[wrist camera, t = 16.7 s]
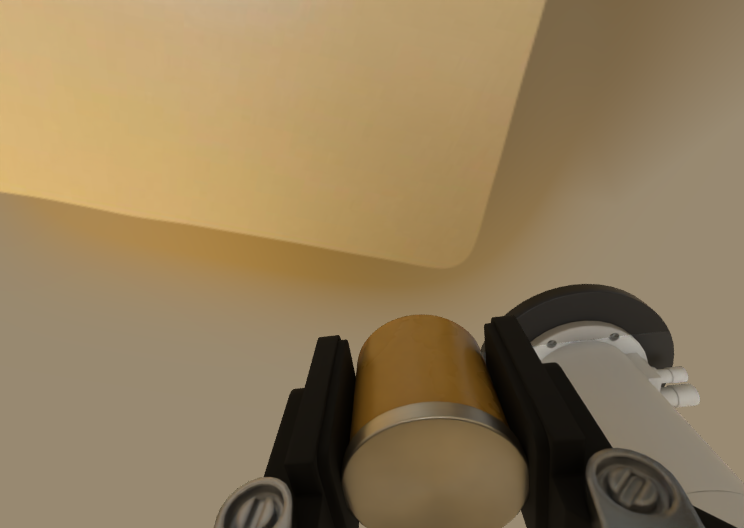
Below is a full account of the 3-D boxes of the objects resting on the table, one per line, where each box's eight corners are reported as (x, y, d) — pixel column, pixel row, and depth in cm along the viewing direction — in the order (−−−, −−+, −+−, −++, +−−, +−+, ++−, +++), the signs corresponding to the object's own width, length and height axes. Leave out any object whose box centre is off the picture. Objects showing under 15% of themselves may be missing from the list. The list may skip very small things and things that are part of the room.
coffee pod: (483, 302, 10) (533, 407, 7) (488, 410, 11) (531, 542, 8) (342, 319, 10) (322, 427, 7) (364, 422, 12) (357, 553, 8)
